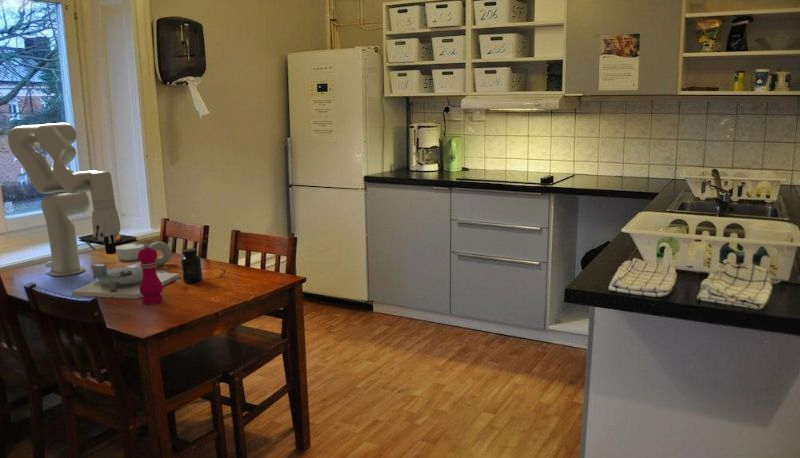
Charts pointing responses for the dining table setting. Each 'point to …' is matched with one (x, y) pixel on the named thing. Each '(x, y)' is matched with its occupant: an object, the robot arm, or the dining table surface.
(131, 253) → the ramekin
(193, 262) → the supplement bottle
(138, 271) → the flange plate
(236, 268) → the dining table surface
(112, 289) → the steel dowel
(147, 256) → the pepper mill
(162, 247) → the donut
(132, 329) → the dining table surface
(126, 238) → the sushi plate
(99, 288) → the base board
